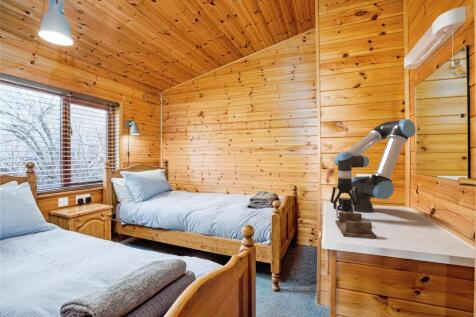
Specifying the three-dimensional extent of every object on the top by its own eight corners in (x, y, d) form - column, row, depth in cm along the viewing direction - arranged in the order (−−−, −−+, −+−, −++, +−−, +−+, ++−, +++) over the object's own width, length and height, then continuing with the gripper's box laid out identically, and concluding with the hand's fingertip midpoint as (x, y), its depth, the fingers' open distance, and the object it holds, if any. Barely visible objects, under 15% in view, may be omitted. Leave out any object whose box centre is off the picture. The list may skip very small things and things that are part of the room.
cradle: (362, 224, 130) (362, 212, 129) (376, 238, 108) (376, 224, 108) (335, 222, 133) (335, 211, 133) (343, 236, 111) (343, 222, 111)
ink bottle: (333, 217, 142) (333, 198, 142) (339, 215, 148) (339, 196, 148) (350, 221, 135) (350, 200, 135) (356, 218, 141) (356, 198, 141)
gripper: (326, 178, 140) (326, 215, 141) (366, 178, 135) (365, 217, 136) (325, 176, 147) (325, 212, 148) (362, 177, 142) (362, 214, 143)
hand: (344, 214), depth 142 cm, fingers closed on ink bottle, 9 cm apart
